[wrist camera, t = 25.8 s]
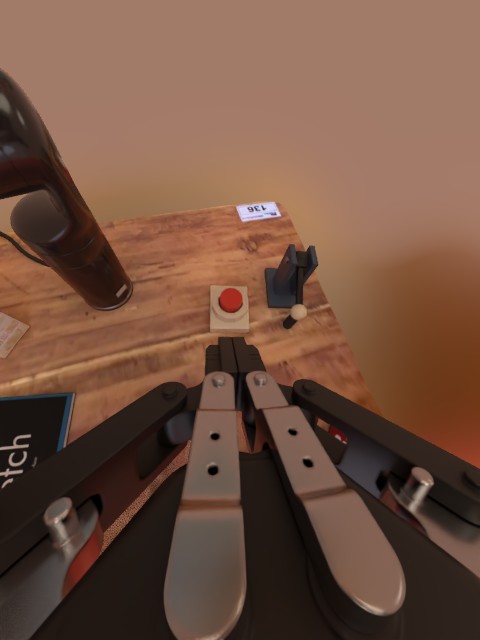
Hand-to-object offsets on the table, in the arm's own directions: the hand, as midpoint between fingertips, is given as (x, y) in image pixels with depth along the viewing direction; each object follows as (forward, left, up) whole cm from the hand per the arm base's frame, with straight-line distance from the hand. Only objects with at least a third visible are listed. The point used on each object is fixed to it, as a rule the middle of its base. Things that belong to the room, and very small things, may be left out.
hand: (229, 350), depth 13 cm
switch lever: (0, +25, -24) cm, 35 cm away
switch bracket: (-3, +28, -32) cm, 43 cm away
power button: (-9, +15, -28) cm, 33 cm away
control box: (-9, +15, -32) cm, 36 cm away
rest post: (+3, +21, -32) cm, 39 cm away
